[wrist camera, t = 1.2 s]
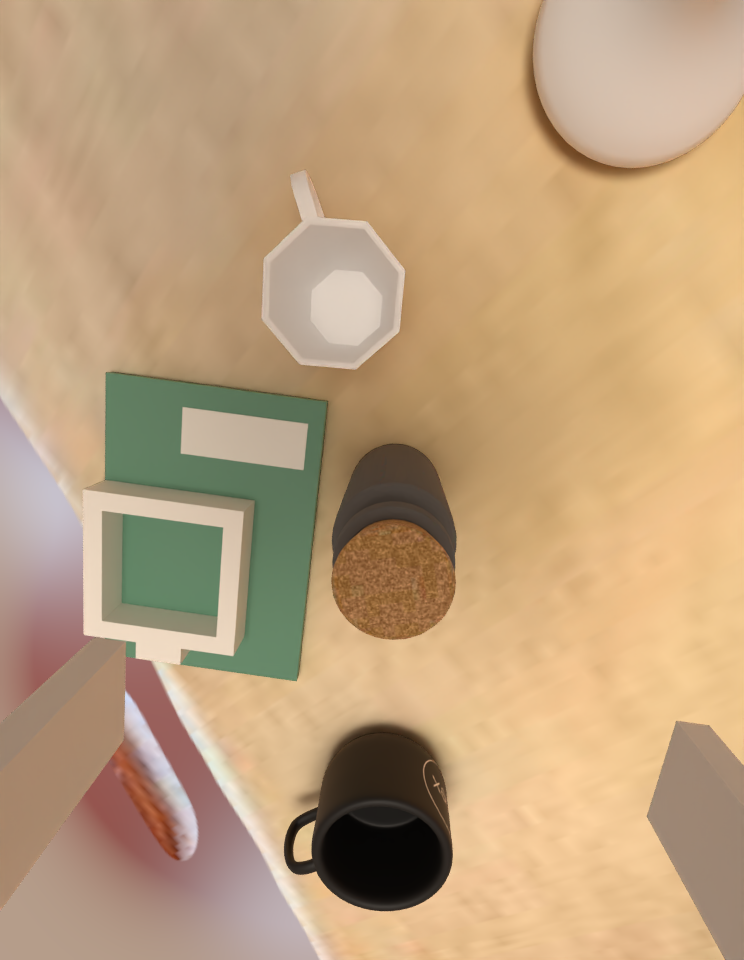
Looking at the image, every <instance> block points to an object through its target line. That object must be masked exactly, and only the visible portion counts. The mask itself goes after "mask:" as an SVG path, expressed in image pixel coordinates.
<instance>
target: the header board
mask: <svg viewBox="0 0 744 960" xmlns="http://www.w3.org/2000/svg"><path fill="white" fill-rule="evenodd" d="M327 407H328V401H324V400H316V399H309V398H301V397H294V396H287V395H279V394H272V393H264V392H257V391H249V390H242V389H235V388H227V387H220V386H212V385H205V384H197V383H190V382H183V381H175V380H168V379H160V378H153V377H145V376H138V375H131V374H123V373H116V372H106V424H105V480H104V481H101V482H99V483H97V484H94V485H92V486H90V487H87V488H85V489H83V588H84V589H83V591H84V592H83V593H84V594H83V595H84V635H89V636H96V637H103V638H105V639H111V640H118V641H125V642H126V657H132V658H137V659H144V660H151V661H158V662H165V663H172V664H179V665H187V666H194V667H201V668H208V669H215V670H222V671H229V672H236V673H243V674H250V675H257V676H264V677H271V678H278V679H285V680H292V681H297V678H298V675H299V667H300V658H301V649H302V639H303V630H304V621H305V611H306V602H307V593H308V583H309V574H310V565H311V556H312V546H313V537H314V528H315V518H316V509H317V500H318V491H319V481H320V472H321V463H322V453H323V444H324V435H325V426H326V416H327Z"/></svg>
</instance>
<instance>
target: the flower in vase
mask: <svg viewBox="0 0 744 960" xmlns="http://www.w3.org/2000/svg"><path fill="white" fill-rule="evenodd" d="M533 68H534V77H535V82H536V87H537V92H538V95H539V98H540V101H541V104H542V106H543V108H544V110H545V112H546V114H547V117H548V119H549V120H550V122H551V123H552V125H553V126H554V128H555V129H556V131H557V132H558V133H559V134H560V135H561V136H562V138H563V139H564V140H565V141H566V142H567V143H568V144H570V145H571V146H572V147H573V148H574V149H576V150H577V151H578V152H580V153H582V154H583V155H585V156H586V157H588V158H590V159H593V160H595V161H597V162H600V163H602V164H606V165H610V166H614V167H623V168H642V167H648V166H654V165H658V164H662V163H665V162H668V161H671V160H673V159H675V158H678V157H680V156H682V155H684V154H686V153H688V152H689V151H691V150H692V149H694V148H695V147H697V146H699V145H700V144H701V143H703V142H704V141H705V140H706V139H707V138H709V137H710V136H711V135H712V134H713V133H714V132H715V131H716V130H717V129H718V128H719V127H720V126H721V125H722V124H723V123H724V122H725V121H726V120H727V118H728V117H729V116H730V115H731V113H732V112H733V111H734V109H735V108H736V106H737V105H738V103H739V102H740V100H741V98H742V97H743V95H744V0H543V2H542V5H541V8H540V11H539V15H538V19H537V22H536V28H535V34H534V41H533Z"/></svg>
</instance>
